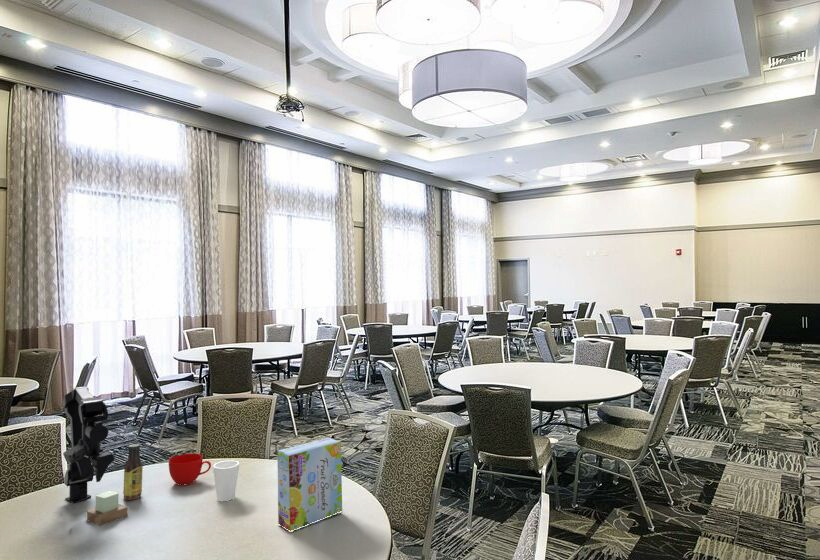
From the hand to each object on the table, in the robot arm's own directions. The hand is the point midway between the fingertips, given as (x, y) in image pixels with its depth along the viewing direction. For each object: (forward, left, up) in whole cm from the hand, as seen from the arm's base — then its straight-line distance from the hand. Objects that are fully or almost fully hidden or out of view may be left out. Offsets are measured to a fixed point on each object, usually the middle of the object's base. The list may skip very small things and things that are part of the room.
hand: (90, 479), depth 183 cm
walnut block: (+8, +1, -13) cm, 15 cm away
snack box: (+71, +35, -13) cm, 81 cm away
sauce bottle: (-1, +16, -13) cm, 20 cm away
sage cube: (+8, +1, -9) cm, 12 cm away
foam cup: (+31, +33, -13) cm, 47 cm away
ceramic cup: (+5, +37, -13) cm, 40 cm away
